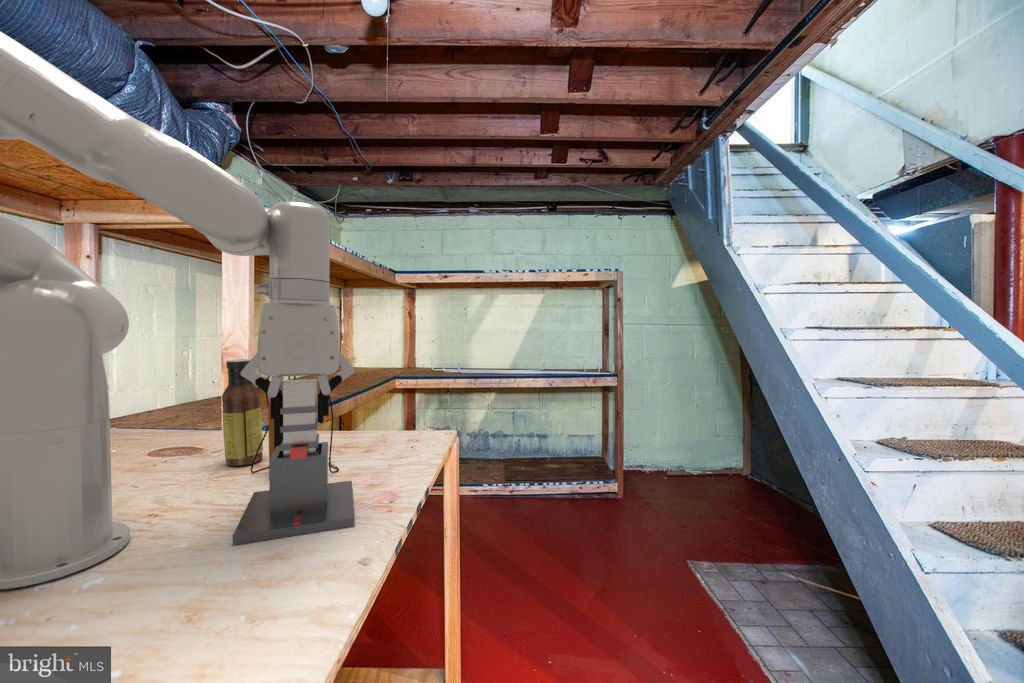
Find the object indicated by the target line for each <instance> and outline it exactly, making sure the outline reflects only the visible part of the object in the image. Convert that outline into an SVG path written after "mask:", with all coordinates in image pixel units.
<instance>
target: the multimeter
mask: <svg viewBox="0 0 1024 683" xmlns="http://www.w3.org/2000/svg"><path fill="white" fill-rule="evenodd" d="M287 377H288V379H287V380H291V376H287ZM296 377H297V376H293V380H297V379H296ZM266 378H267V379H268V380H269V381H270V378H271V376H267V377H266ZM268 397H269V396H268V394H267V393H265V399H266V405H267V408H268V409H267V410H268V411H267V412H268V417H267V418H268V426H267V428H266V430H265V433H264V435H263V436H262V441H261V443H260V445H259V447H258V450H257V452H256V454H255V457H254V459H253V462H252V464H251V466H250V472H251V474H255V473H258V472H260V471H263V470H266V469H269V466H266V467H262V468H260V469H257V470H255V471H253V469H254V464H255V463H254V461H255V459H256V456H257V454H258V451H259V449H260V447H261V445H262V442H264V440H265V438H266V436H267V433H268V461H269V460H270V458H271V456H272V454H273V452H274V450H275V448H276V446H281V443H282V441H283V433H280V427H281V425H280V426H276V420H275V419H271V413H270V402H269V398H268ZM331 399H332V398H331V396H330V394H329V408H330V411H331V412H330V414H331V429H330V431H331V432H330V444H329V452H328V471H329V472H330V473H331V474H335V473H338V472H339V471H340V468H339V467H338V466H337V465H336V464H334V463H333V462H331V461H332V446H333V445H332V444H333V433H334V413H333V412H334V410H333V404H332V400H331ZM331 467H332V468H334V469H336V470H334V471H332V469H331Z"/></svg>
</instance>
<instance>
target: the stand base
mask: <svg viewBox="0 0 1024 683" xmlns="http://www.w3.org/2000/svg"><path fill="white" fill-rule="evenodd" d="M317 450H319V455H309V456H307V446H300V447H291V448H290V457H287V458H283V451H281V446H276V448H275V450H274V452H273V454H272V456H271V458H270V460H269V459H268V467H269V468H268V470H269V471H268V473H269V475H268V476H269V478H268V480H269V482H268V483H269V485H268V486H269V490H262V491H254V492H253V493H252V495H251V497H250V499H249V501H248V503H247V506H246V508H245V509H244V511H243V514H242V516H241V518H240V520H239V522H238V523H237V526H236V527H235V530H234V532H233V534H232V546H238V545H245V544H249V543H256V542H262V541H270V540H276V539H282V538H288V537H294V536H295V537H297V536H301V535H308V534H314V533H320V532H326V531H332V530H338V529H344V528H349V527H350V528H351V527H355V523H356V522H355V506H354V493H353V492H354V491H353V480H344V481H337V482H331V483H330V482H329V465H328V462H329V459H328V458H329V441H323V442H320V441H319V443H318V448H317Z"/></svg>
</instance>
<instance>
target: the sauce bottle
mask: <svg viewBox="0 0 1024 683" xmlns="http://www.w3.org/2000/svg"><path fill="white" fill-rule="evenodd" d="M250 360H251V359H250V358H249V359H248V358H247V359H246V358H244V359H243V358H242V359H241V358H238V359H230V360H229V359H228V360H227V361H226V362H225V363H226V369H227V376H228V380H227V386H226V388H225V389H224V391H223V393H222V395H221V402H222V412H221V413H222V414H221V415H222V428H223V443H224V445H223V447H224V457H225V462H226V464H227V465H228V466H230V467H241V466H244V467H245V466H249V465H252V462H253V459H254V457H255V454H256V452H257V450H258V447H259V445H260V443H261V441H262V439H263V424H262V423H263V421H262V407H261V402H260V401H261V400H260V398H261V397H260V391H259V390H258V388H257V387H256V384H255V383H253V382H251V381H249V380H248V379H246V378H244V377H243V376H241V371H242V370H243V369H244V367H245V366H246V365H247V364H248V363H249V362H250ZM263 442H264V441H263ZM263 442H262V445H261V447H260V449H259V451H258V454H257V456H256V459H255V461H254V464H256V463H258V462H260V461H262V459H263V456H264V455H263V454H264V453H263V450H264V443H263Z"/></svg>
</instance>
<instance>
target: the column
mask: <svg viewBox="0 0 1024 683" xmlns="http://www.w3.org/2000/svg"><path fill="white" fill-rule="evenodd" d="M317 384H318V378H312V379H311V378H310V379H305V378H304V379H296V380H294V379H290V380H288V379H286V380H285V381H284V382H282V394H283V406H282V407H281V408H280V414H283V423H282V425H281V427H280V433H283V441H282V443H281V451H283V458H287V457H290V448H291V447H300V446H307V456H309V455H319V450H317V448H318V443H320V433H318V430H319V426H320V423H319V422H318V385H317Z"/></svg>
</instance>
